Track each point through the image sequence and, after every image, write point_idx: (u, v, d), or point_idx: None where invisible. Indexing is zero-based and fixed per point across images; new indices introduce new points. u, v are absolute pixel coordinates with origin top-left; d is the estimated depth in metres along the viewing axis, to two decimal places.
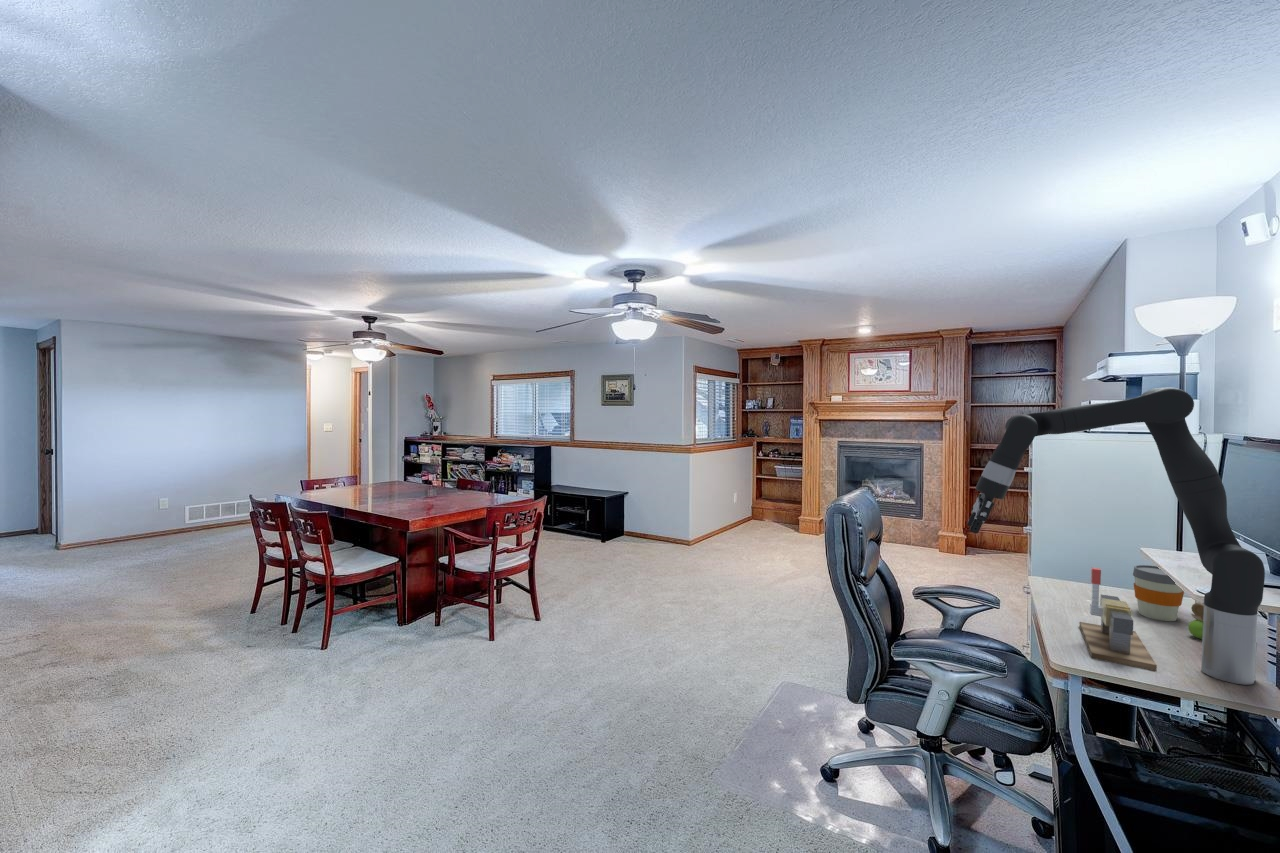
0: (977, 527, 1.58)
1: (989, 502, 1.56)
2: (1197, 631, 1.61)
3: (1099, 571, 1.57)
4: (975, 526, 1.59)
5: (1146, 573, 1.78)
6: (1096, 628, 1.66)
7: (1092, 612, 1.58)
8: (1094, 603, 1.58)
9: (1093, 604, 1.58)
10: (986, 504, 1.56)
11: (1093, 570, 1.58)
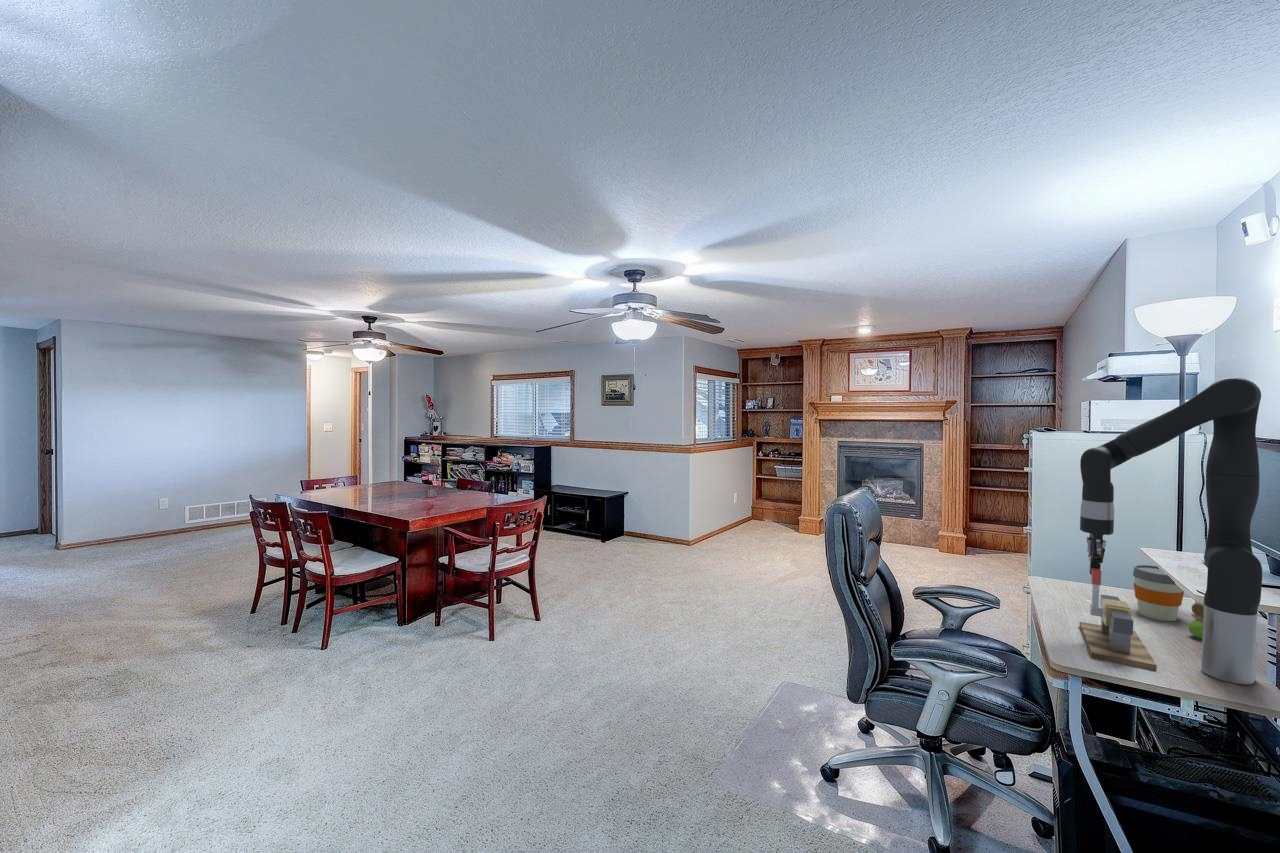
0: None
1: (1099, 550, 1.55)
2: (1197, 631, 1.61)
3: (1099, 572, 1.57)
4: None
5: (1146, 573, 1.78)
6: (1096, 628, 1.66)
7: (1092, 612, 1.58)
8: (1094, 603, 1.58)
9: (1093, 604, 1.58)
10: (1097, 552, 1.56)
11: (1093, 571, 1.57)
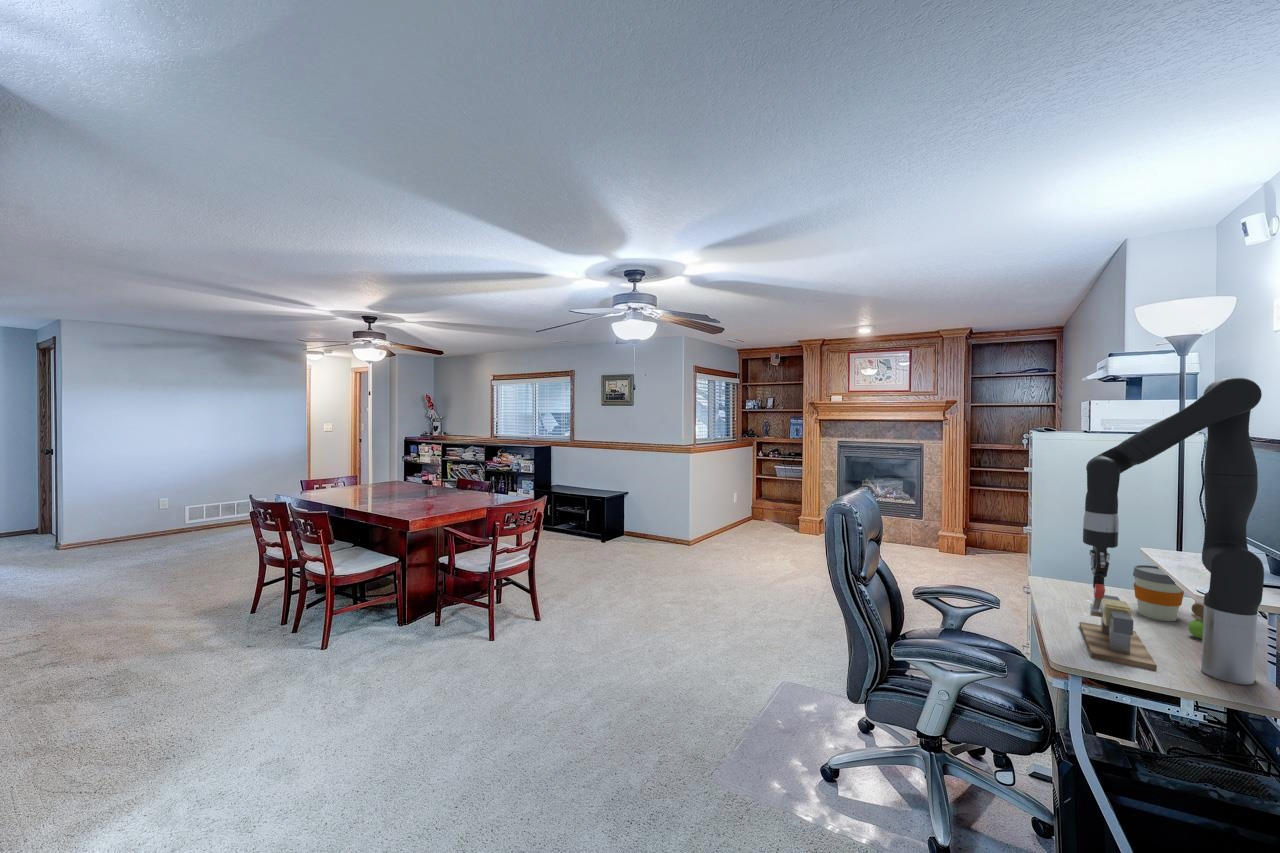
0: None
1: (1103, 564, 1.49)
2: (1197, 631, 1.61)
3: (1103, 591, 1.51)
4: (1098, 583, 1.53)
5: (1146, 573, 1.78)
6: (1096, 628, 1.66)
7: (1092, 614, 1.59)
8: (1095, 608, 1.57)
9: (1093, 608, 1.57)
10: (1101, 566, 1.50)
11: (1097, 590, 1.52)
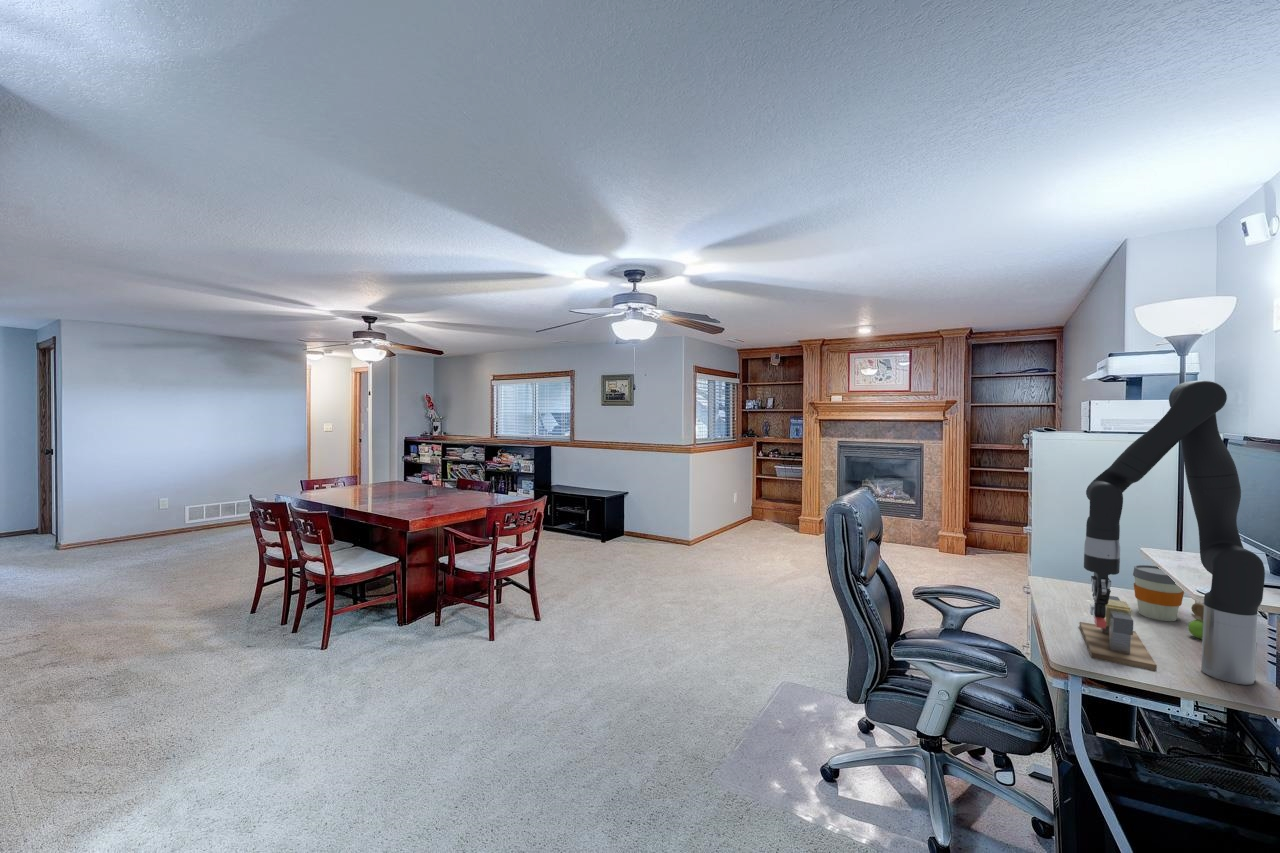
0: (1101, 611, 1.50)
1: (1104, 591, 1.46)
2: (1197, 631, 1.61)
3: None
4: (1099, 610, 1.51)
5: (1146, 573, 1.78)
6: (1096, 628, 1.66)
7: None
8: None
9: None
10: (1102, 593, 1.47)
11: None
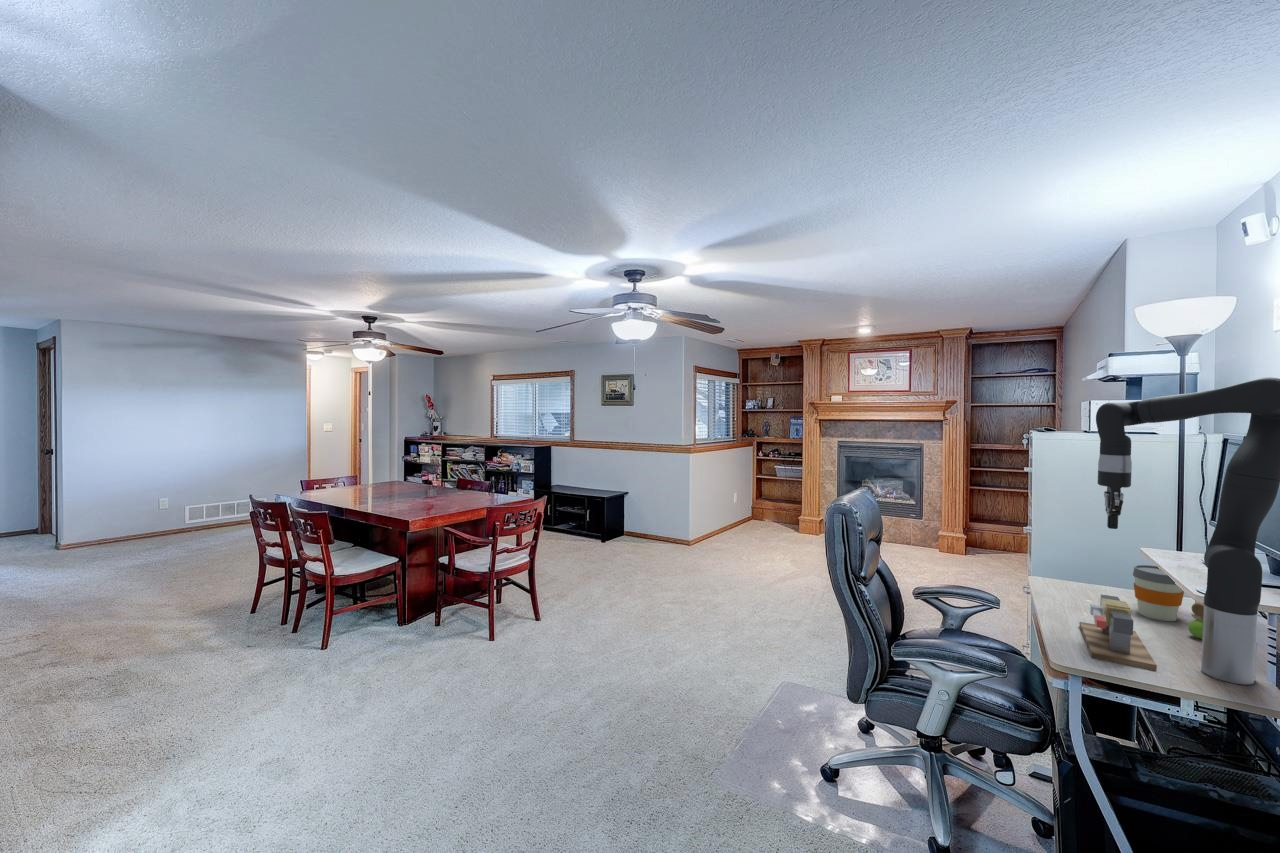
0: (1114, 522, 1.62)
1: (1117, 502, 1.58)
2: (1197, 631, 1.61)
3: None
4: (1112, 522, 1.63)
5: (1146, 573, 1.78)
6: (1096, 628, 1.66)
7: None
8: None
9: None
10: (1115, 504, 1.59)
11: None
